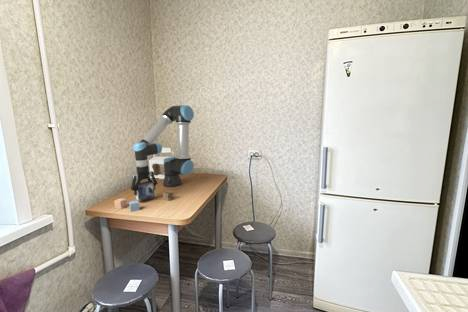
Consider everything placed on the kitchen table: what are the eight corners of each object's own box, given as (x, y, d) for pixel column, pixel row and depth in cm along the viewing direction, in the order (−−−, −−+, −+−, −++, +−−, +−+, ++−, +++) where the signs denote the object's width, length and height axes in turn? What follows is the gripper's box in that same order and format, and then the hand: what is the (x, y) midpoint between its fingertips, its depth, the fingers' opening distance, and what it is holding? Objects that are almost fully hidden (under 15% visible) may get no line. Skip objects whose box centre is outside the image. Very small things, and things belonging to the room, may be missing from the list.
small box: (141, 201, 162) (139, 186, 160) (136, 199, 167) (134, 184, 165) (155, 196, 170) (153, 182, 168) (150, 194, 174) (148, 180, 172)
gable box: (178, 175, 236) (176, 146, 232) (172, 179, 224) (170, 148, 219) (156, 175, 240) (154, 146, 235) (150, 178, 227) (147, 148, 222)
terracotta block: (120, 205, 161) (120, 198, 160) (127, 206, 159) (126, 198, 158) (114, 208, 156) (114, 200, 155) (121, 209, 155) (120, 201, 154)
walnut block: (169, 197, 173) (168, 191, 173) (173, 199, 171) (173, 192, 170) (163, 200, 169) (162, 193, 168) (168, 201, 167) (167, 194, 166)
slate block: (138, 207, 156) (137, 200, 156) (139, 210, 152) (139, 202, 151) (129, 209, 154) (129, 201, 153) (131, 212, 150) (130, 204, 149)
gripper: (155, 161, 175) (158, 191, 179) (122, 168, 159) (126, 200, 163) (160, 163, 170) (163, 193, 174) (127, 170, 153) (131, 203, 158)
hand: (145, 197), depth 168 cm, fingers closed on small box, 11 cm apart
